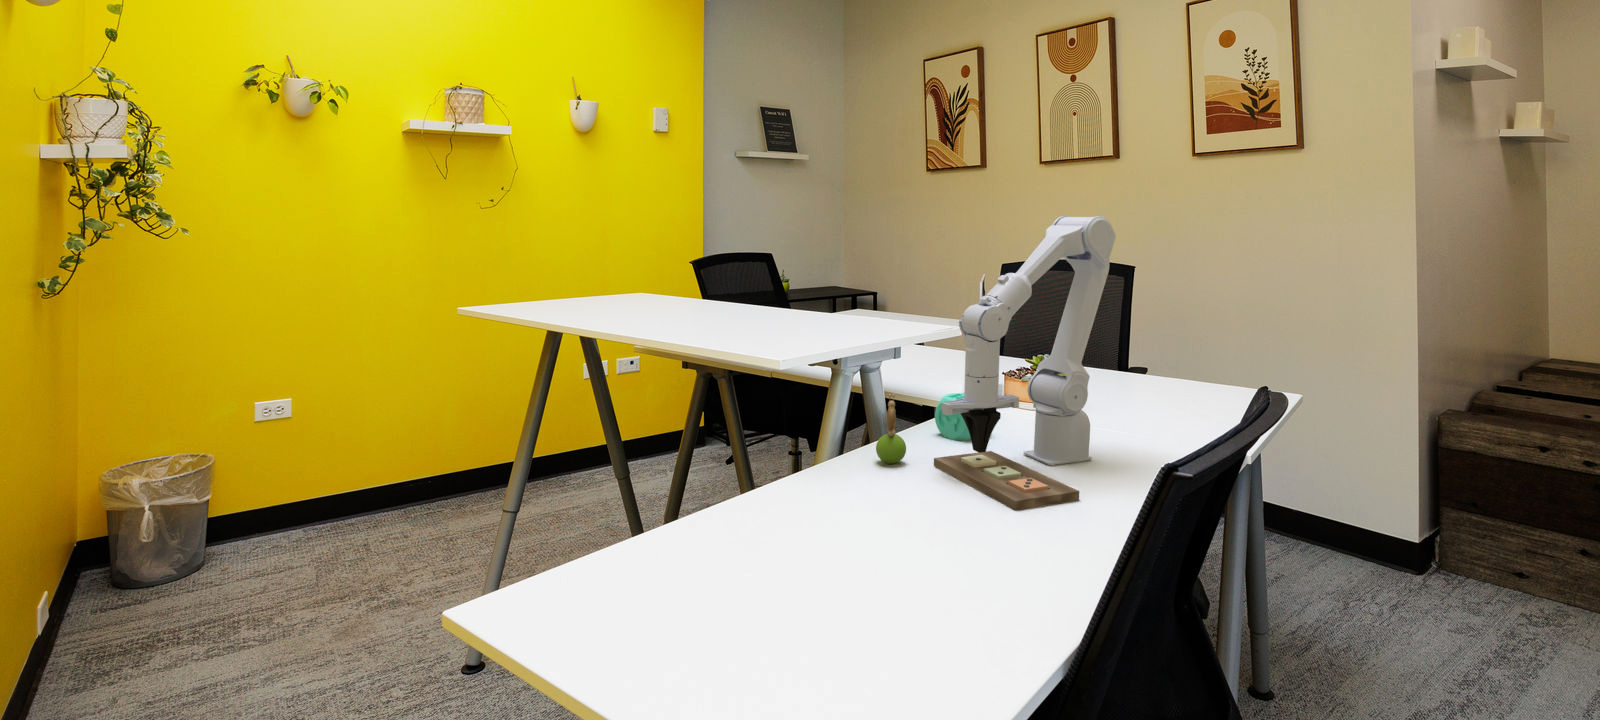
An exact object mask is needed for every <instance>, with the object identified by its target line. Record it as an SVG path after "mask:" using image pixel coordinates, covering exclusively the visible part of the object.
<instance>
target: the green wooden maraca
mask: <svg viewBox="0 0 1600 720" xmlns="http://www.w3.org/2000/svg"><path fill="white" fill-rule="evenodd" d="M888 397H889V398H891V397H892V398H893V399H892V400H889V401H888V403H887V406H888V407H887V408H888V409H887V412H886V429H887V433H886V434H884V435H882V436H880V437H879V439H878V440H877V441H876V444H875V445H876V446H875V452H876V455H877V457H878V458H879V459H880V460H881V461H882V462H884V463H885V464H889V465H891V464H897V463H899V462H901V461H902V459H904V457H905V455H906V453H907V445H906V442H905V440H904V439H903V437H901V436H900V434H899V435H898V434H896V430H897V415H896V409H895V407H896V402H895V399H894V398H895V397H896V395H895V393H893V394H891V393H889V394H888Z"/></svg>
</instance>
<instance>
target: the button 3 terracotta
mask: <svg viewBox="0 0 1600 720" xmlns="http://www.w3.org/2000/svg"><path fill="white" fill-rule="evenodd" d="M1008 485H1010V486H1012V487H1014V488H1016V489H1018V490H1020V491H1022V492H1024V493H1028V492H1035V491H1041V490H1048V485H1045V484H1043V483H1041V482H1039V481H1037V480H1035V479H1033V478H1025V479H1018V480H1011V481H1008Z"/></svg>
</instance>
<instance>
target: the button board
mask: <svg viewBox="0 0 1600 720" xmlns="http://www.w3.org/2000/svg"><path fill="white" fill-rule="evenodd" d="M976 455H984V456H986V457H988V458H990V459H992V460H994V461H997V462H996V465H991V466H983V467H975V468H974V467H972V466H970V465H968V464H966V463H964V462H962V461H961V457H968V456H976ZM934 466H935V468H936V469H938V470H940V471H942V472H944V473H946V474H947V475H949V476H950V477H951V476H952V477H953V478H955V479H957V480H958V481H961V482H963V483H964V484H966V485H968V486H969V487H972V488H973V489H975V490H976V491H979V492H981V493H983V494H984V495H986V496H987V497H990V498H992V499H994V500H995V501H997V502H999V503H1000V504H1003V505H1004V506H1006V507H1009V508H1010V509H1011V510H1013V511H1020V510H1027V509H1031V508H1033V509H1034V508H1038V507H1039V508H1040V507H1045V506H1051V505H1057V504H1065V503H1071V502H1077V501H1080V490H1078V489H1076V488H1073V487H1071V486H1069V485H1066V484H1065V483H1063V482H1060V481H1058V480H1056V479H1054V478H1051V477H1049V476H1046V475H1045V474H1042V473H1041V472H1038V471H1037V470H1034V469H1031V468H1030V467H1027V466H1025V465H1022V463H1021V464H1020V463H1018V462H1016V461H1015V460H1014V461H1013V460H1012V459H1010V458H1008V457H1006V456H1003V455H1001V454H999V453H996V452H994V451H992V450H986V452H981V453H979V452H971V453H963V454H956V455H955V454H954V455H948V456H939V457H933V467H934ZM999 466H1007V467H1009V468H1011V469H1014V470H1016V471H1018V472H1020V473H1021V477H1014V478H1007V479H1000V480H998V479H996V478H994V477H992V476H990V475H988V474H986V473H984V472H983V470H984V468H992V467H999ZM1025 478H1033V479H1035V480H1037V481H1039V482H1041V483H1043V484H1045V485H1048V490H1041V491H1035V492H1028V493H1024V492H1022V491H1020V490H1018V489H1016V488H1014V487H1012V486H1010V485H1008V481H1011V480H1018V479H1025Z"/></svg>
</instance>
